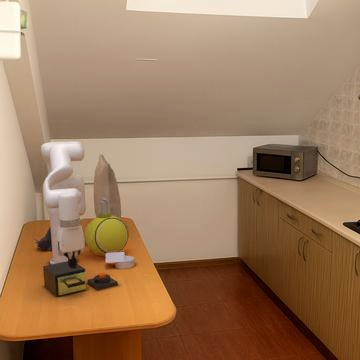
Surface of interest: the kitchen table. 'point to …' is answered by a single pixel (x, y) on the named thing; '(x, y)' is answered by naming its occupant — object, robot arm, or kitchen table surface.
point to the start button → (102, 275)
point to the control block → (102, 282)
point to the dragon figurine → (47, 241)
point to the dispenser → (58, 270)
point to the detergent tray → (71, 282)
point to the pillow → (106, 188)
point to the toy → (106, 232)
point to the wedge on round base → (120, 260)
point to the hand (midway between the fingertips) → (72, 267)
